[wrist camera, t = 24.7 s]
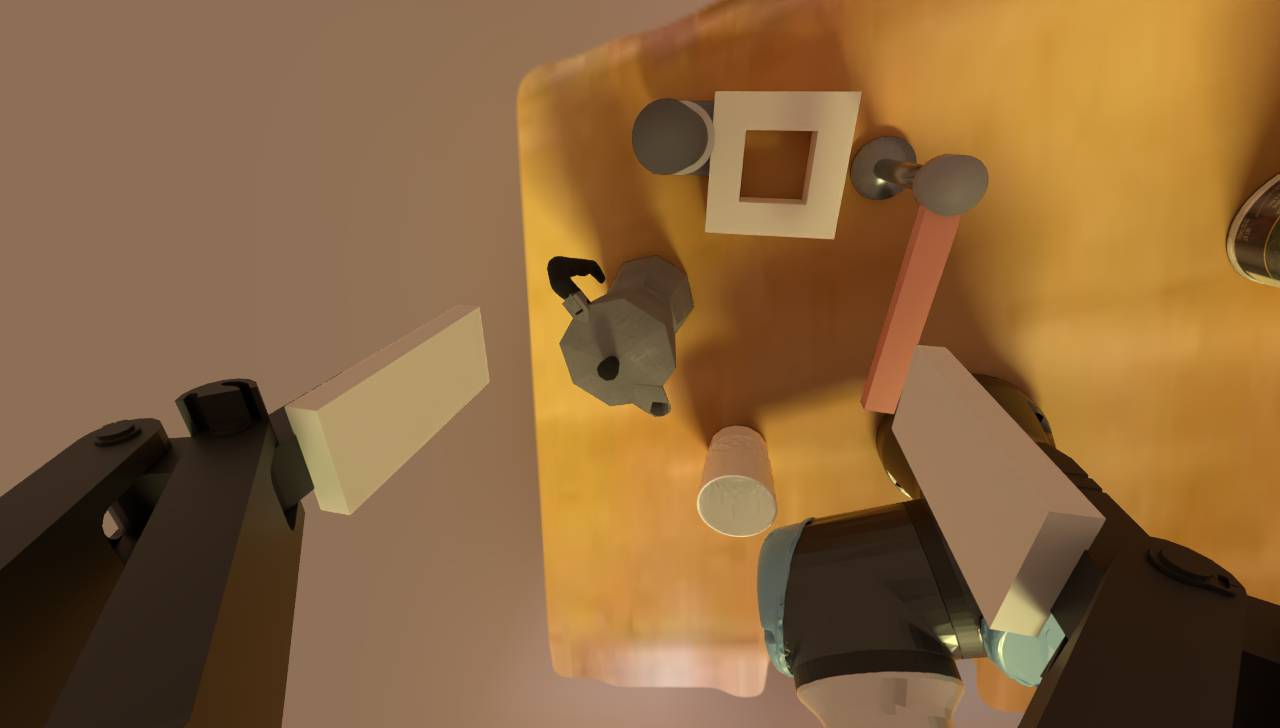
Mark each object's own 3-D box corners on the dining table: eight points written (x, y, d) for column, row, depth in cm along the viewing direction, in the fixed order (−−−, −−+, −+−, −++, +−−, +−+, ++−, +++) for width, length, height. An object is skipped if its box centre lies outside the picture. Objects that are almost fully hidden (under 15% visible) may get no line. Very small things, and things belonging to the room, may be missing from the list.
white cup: (701, 470, 59) (693, 529, 50) (708, 415, 55) (700, 469, 47) (766, 480, 58) (770, 543, 49) (777, 425, 54) (783, 482, 45)
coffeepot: (723, 324, 50) (711, 411, 34) (652, 366, 54) (612, 463, 38) (636, 199, 47) (578, 233, 31) (566, 254, 50) (483, 309, 35)
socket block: (851, 95, 40) (862, 91, 36) (827, 231, 44) (833, 239, 41) (718, 94, 42) (715, 91, 38) (708, 224, 46) (704, 232, 43)
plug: (714, 172, 44) (705, 183, 31) (656, 170, 45) (624, 182, 32) (719, 105, 41) (711, 88, 29) (657, 105, 42) (624, 89, 30)
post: (920, 136, 40) (1001, 137, 27) (904, 199, 42) (973, 228, 29) (857, 135, 41) (907, 136, 28) (845, 197, 43) (886, 223, 30)
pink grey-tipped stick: (922, 152, 28) (933, 153, 26) (981, 156, 27) (997, 157, 26) (850, 397, 35) (856, 411, 34) (896, 404, 35) (904, 418, 33)
